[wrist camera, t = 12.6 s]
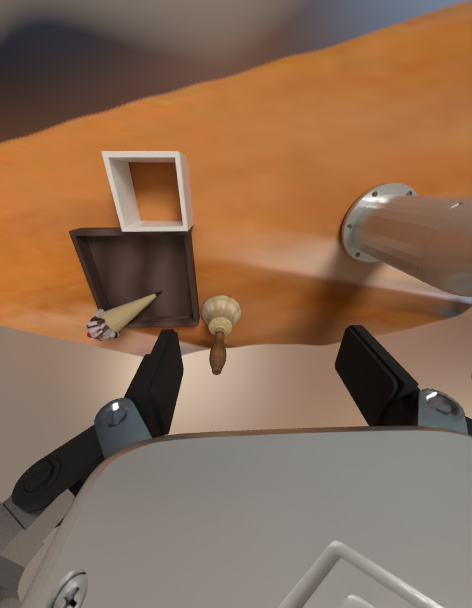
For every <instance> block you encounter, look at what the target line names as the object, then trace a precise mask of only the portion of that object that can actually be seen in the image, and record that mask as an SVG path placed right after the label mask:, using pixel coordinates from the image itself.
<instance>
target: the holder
mask: <svg viewBox="0 0 472 608" xmlns="http://www.w3.org/2000/svg"><path fill="white" fill-rule="evenodd" d="M101 152H102V156H103V159H104V163H105V167H106V171H107V175H108V179H109V183H110V187H111V191H112V194H113V198H114V202H115V206H116V210H117V214H118V218H119V222H120V225H121V229H122V232H140V231H188V230H189V229H190V228H191V227H192V226H193V225H194V220H193V210H192V199H191V189H190V178H189V168H188V157H186V156H185V155H184V154H182V153H181V152H179V151H101ZM128 162H176V170H177V179H178V187H179V195H180V204H181V212H182V221H141V220H140V215H139V210H138V205H137V201H136V196H135V191H134V186H133V182H132V177H131V172H130V167H129V163H128Z"/></svg>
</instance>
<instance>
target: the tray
mask: <svg viewBox="0 0 472 608" xmlns="http://www.w3.org/2000/svg"><path fill="white" fill-rule="evenodd" d="M69 233H70V236H71V239H72V241H73V244H74V247H75V249H76V252H77V255H78V257H79V260H80V263H81V265H82V268H83V270H84V273H85V276H86V278H87V281H88V284H89V286H90V289H91V292H92V294H93V297H94V300H95V302H96V305H97V308H98V310H99V309H103V310H104V311H108V310H110V309H113V308H116V307H119V306H121V305H124V304H127V303H130V302H133V301H135V300H138V299H141V298H144V297H146V296H149V295H152V294H155V293H157V292H160V291H162V292H161V293H160V294H159V295H158V296H157V297H156V298H155V299H154V300H153V301H152V302H150V303H149V304H148V305H147V306H146V307H145V308H144V309H143V310H142V311H141V312H140V313H139V314H138V315H136V316H135V317H134V318H133V319H132V320H131V321H130V322H129V323H128V324H127V325H126V326H125V327H160V326H198V324H199V319H200V314H199V304H198V295H197V285H196V275H195V266H194V256H193V246H192V237H191V228H190V229H189V230H188V231H140V232H122V229H121V228H79V229H75V230H72V231H69Z"/></svg>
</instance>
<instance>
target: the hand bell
mask: <svg viewBox="0 0 472 608" xmlns="http://www.w3.org/2000/svg"><path fill="white" fill-rule="evenodd" d="M201 316H202V318H203V320H204V322H205V323H206V324H207V325H208V326H209V331H210V332H211V333H212V334H213V335H215V342H214V345H213V346H212V348H211V351H210V358H209V360H210V365H211V368H212V373H213V374H215V375H219V374H220V373H221V371H222V368H223V366H224V364H225V362H226V349H225V346H224V336H226V335H228V334H229V333H230V332H231V330H232V327H233V326H234V325H235V324H236V323H237V322H238V321H239V319H240V317H241V308H240V306H239V304H238V303H237V302H236V301H235V300H234V299H233V298H231V297H228V296H224V295H217V296H213V297H211V298H209V299H208V300H206V301H205V302H204V304H203V306H202V308H201Z"/></svg>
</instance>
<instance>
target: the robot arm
mask: <svg viewBox="0 0 472 608" xmlns="http://www.w3.org/2000/svg"><path fill="white" fill-rule="evenodd" d="M372 194H373V195H372ZM347 226H348V227H347ZM341 239H342V244H343V247H344V249H345V250H346V252H347V253H348V254H349V255H350V256H351V257H353V258H354V259H356V260H358V261H361V262H366V263H373V262H379V261H382V262H384V263H386V264H388V265H390V266H392V267H394V268H396V269H398V270H400V271H403V272H405V273H407V274H409V275H411V276H413V277H415V278H417V279H419V280H421V281H423V282H425V283H427V284H429V285H432V286H434V287H436V288H438V289H440V290H442V291H445V292H447V293H450V294H454V295H458V296H466V297H472V198H458V197H436V196H418V195H417V193H416V192H415V191H414V190H413V189H412V188H411V187H409V186H407V185H404V184H400V183H387V184H382V185H379V186H376V187H374V188H372V189H370V190H369V191H367V192H365V193H364V194H363V195H362V196H361V197H359V198H358V199H357V200H356V202H355V203H354V204H353V205H352V206H351V208H350V209H349V211H348V212H347V215H346V217H345V219H344V222H343V225H342V231H341ZM335 369H336V371H337V372H338V374H339V376H340V377H341V379H342V381H343V383H344V384H345V386H346V388H347V389H348V391H349V393H350V394H351V396H352V398H353V399H354V401H355V403H356V405H357V406H358V408H359V410H360V411H361V413H362V415H363V417H364V418H365V420H366V422H367V423H368V425H369V426H362V427H361V426H360V427H327V428H301V429H300V428H299V429H271V430H247V431H223V432H204V433H186V434H176V435H166V434H168V433H169V431H170V426H171V422H172V418H173V414H174V410H175V406H176V401H177V397H178V393H179V389H180V385H181V381H182V376H183V363H182V358H181V351H180V345H179V340H178V334H177V332H174V330H173V329H166V330H162V331H161V332H160V335H159V337H158V339H157V341H156V343H155V345H154V348H153V350H152V352H151V354H146V355H145V356H144V358H143V360H142V362H141V364H140V366H139V368H138V370H137V372H136V374H135V376H134V378H133V380H132V382H131V384H130V386H129V388H128V390H127V392H126V394H125V396H124V398H120V399H115V400H113V401H110V402H109V403H107V404H106V405H104V406H103V407H102V408H101V409H100V410H99V412H98V413H97V415H96V417H95V420H94V425H93V426H91V427H90V428H88V429H87V430H85V431H84V432H82V433H81V434H79V435H78V436H76V437H74V438H73V439H71V440H70V441H69V442H67V443H65V444H64V445H62V446H61V447H59V448H58V449H56V450H54V451H53V452H52V453H50V454H48V455H47V456H45V457H44V458H42V459H41V460H39V461H38V462H36V463H35V464H34V465H32V466H31V467H30V468H29V469H28V470H27V471H26V472H25V473H24V474H23V475H22V476H21V477H20V479H19V480H18V482H17V483H16V485H15V487H14V490H13V492H12V495H11V496H10V497H9V498H8V499H7V500H6V501H4V502H3V503H1V502H0V608H472V419H470V418H468V417H466V416H465V413H464V410H463V408H462V407H461V406H460V404H459V403H458V402H456V401H455V400H454V399H453V398H451V397H450V396H448V395H447V394H445V393H442V392H440V391H437V390H434V389H428V388H427V389H422V390H420V389H419V388H418V387H417V386H418V383H417V382H416V381H415V380H414V379H413V378H412V377H411V376H410V374H409V373H408V372H407V371H406V370H405V369H404V368H403V367H402V366H401V365H400V364H399V363H398V362H397V361H396V360H395V359H394V358H393V357H392V356H391V355H390V354H389V353H388V352H387V351H386V350H385V349H384V348H383V347H382V346H381V344H379V342H378V341H377V340H376V339H375V338H374V337H373V336H372V335H371V334H370V333H369V332H368V331H367V330H366V329H365V328H364V327H363V326H362V325H351V326H349V327H348V328H346V330H345V332H344V336H343V339H342V342H341V346H340V349H339V352H338V355H337V358H336V362H335ZM471 377H472V375H471ZM165 435H166V436H165ZM58 526H59V528H58V530H57V532H56V534H55V536H54V538H53V540H52V542H51V544H50V546H49V548H48V550H47V552H46V554H45V556H44V558H43V560H42V562H41V564H40V566H39V568H38V571H37V573H36V575H35V576H34V579H33V581H32V583H31V585H30V587H29V589H28V591H27V593H26V595H25V597H24V599H23V601H22V603H21V602H20V600H19V596H18V592H17V591H18V586H19V581H20V578H21V576H22V574H23V572H24V569H25V568H26V566H27V565H28V563H29V562H30V561H31V559H32V558H33V556H34V555H35V554H36V553H37V552H38V550H39V549H40V548H41V547H42V546H43V545H44V543H43V540H44V539H45V538H46V537H47V536H48V535H49V533H50V532H51V531H52V530H53V529H54V528H55V527H58ZM84 574H87V575H84Z"/></svg>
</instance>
